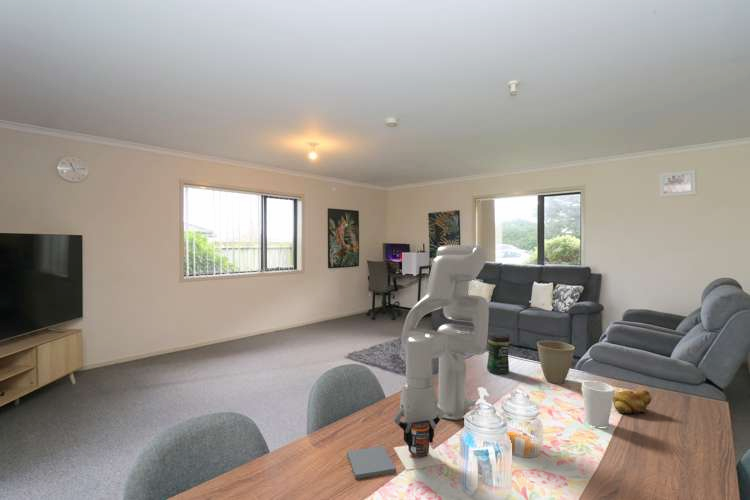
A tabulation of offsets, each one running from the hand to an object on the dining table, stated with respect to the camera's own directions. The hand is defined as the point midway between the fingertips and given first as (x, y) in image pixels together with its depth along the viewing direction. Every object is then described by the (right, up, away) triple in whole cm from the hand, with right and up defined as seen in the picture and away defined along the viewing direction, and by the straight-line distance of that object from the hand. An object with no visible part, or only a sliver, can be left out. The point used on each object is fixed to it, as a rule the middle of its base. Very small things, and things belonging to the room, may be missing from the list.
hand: (418, 441), depth 105 cm
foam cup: (+63, -4, +19) cm, 66 cm away
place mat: (-14, -4, -4) cm, 15 cm away
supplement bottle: (0, -3, 0) cm, 3 cm away
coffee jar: (+46, -3, +68) cm, 82 cm away
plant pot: (+68, -3, +58) cm, 89 cm away
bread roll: (+81, -4, +30) cm, 86 cm away
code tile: (0, -4, 0) cm, 4 cm away
